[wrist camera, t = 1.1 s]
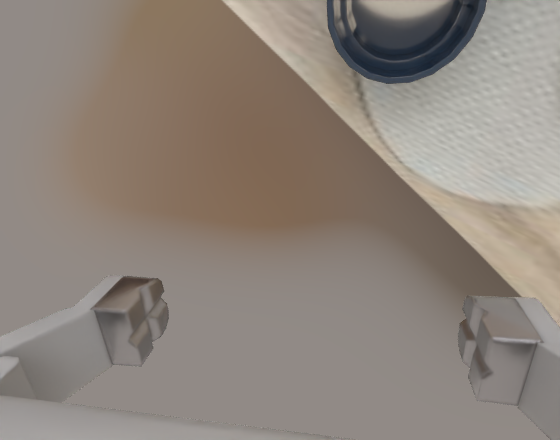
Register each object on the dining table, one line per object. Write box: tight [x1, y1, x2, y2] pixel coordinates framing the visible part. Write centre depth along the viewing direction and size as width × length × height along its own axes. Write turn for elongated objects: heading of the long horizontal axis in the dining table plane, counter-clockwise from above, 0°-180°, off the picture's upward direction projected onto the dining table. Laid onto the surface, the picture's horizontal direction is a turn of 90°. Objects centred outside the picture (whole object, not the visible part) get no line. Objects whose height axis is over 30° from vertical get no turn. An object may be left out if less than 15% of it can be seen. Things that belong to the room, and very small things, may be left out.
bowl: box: [327, 0, 487, 84], centre depth 34 cm, size 13×13×6 cm
